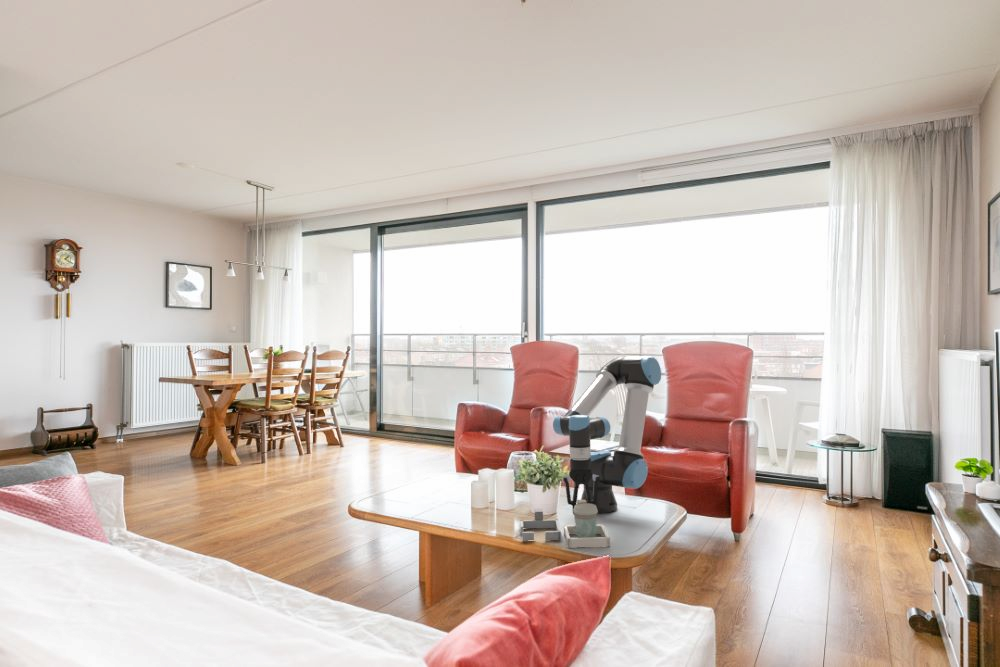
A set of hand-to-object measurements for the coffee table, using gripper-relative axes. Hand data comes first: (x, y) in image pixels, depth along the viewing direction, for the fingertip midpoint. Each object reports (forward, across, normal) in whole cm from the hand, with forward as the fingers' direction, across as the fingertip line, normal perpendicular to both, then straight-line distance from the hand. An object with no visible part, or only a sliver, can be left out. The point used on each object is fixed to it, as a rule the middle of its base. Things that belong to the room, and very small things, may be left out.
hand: (582, 523), depth 216 cm
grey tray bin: (+3, 0, -7) cm, 8 cm away
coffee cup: (+3, 0, -10) cm, 11 cm away
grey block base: (+3, -15, 0) cm, 16 cm away
